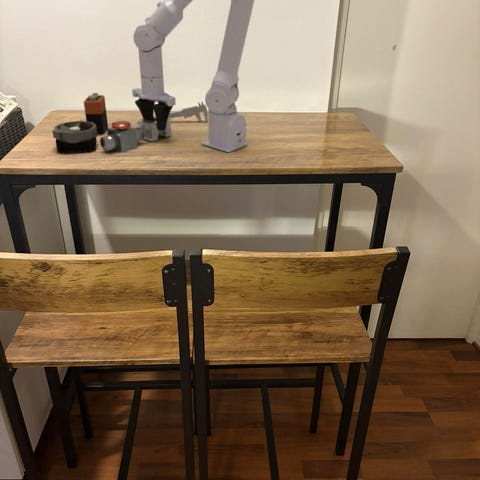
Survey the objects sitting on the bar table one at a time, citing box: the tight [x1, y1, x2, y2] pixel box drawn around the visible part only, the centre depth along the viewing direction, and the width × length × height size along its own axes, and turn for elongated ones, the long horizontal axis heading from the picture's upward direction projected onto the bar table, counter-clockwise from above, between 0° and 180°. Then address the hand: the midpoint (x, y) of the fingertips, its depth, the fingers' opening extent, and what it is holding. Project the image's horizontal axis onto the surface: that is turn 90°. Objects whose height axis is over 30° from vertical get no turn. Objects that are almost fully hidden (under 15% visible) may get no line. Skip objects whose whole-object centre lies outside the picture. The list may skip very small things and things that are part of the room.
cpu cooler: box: [51, 120, 98, 155], centre depth 123 cm, size 10×6×10 cm
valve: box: [99, 120, 145, 153], centre depth 123 cm, size 11×5×6 cm, turn 140°
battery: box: [83, 92, 109, 135], centre depth 133 cm, size 4×7×10 cm, turn 3°
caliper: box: [136, 100, 208, 124], centre depth 143 cm, size 21×1×6 cm, turn 96°
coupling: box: [138, 115, 172, 142], centre depth 130 cm, size 7×5×5 cm, turn 142°
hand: (155, 128), depth 131 cm, fingers closed on coupling, 4 cm apart
